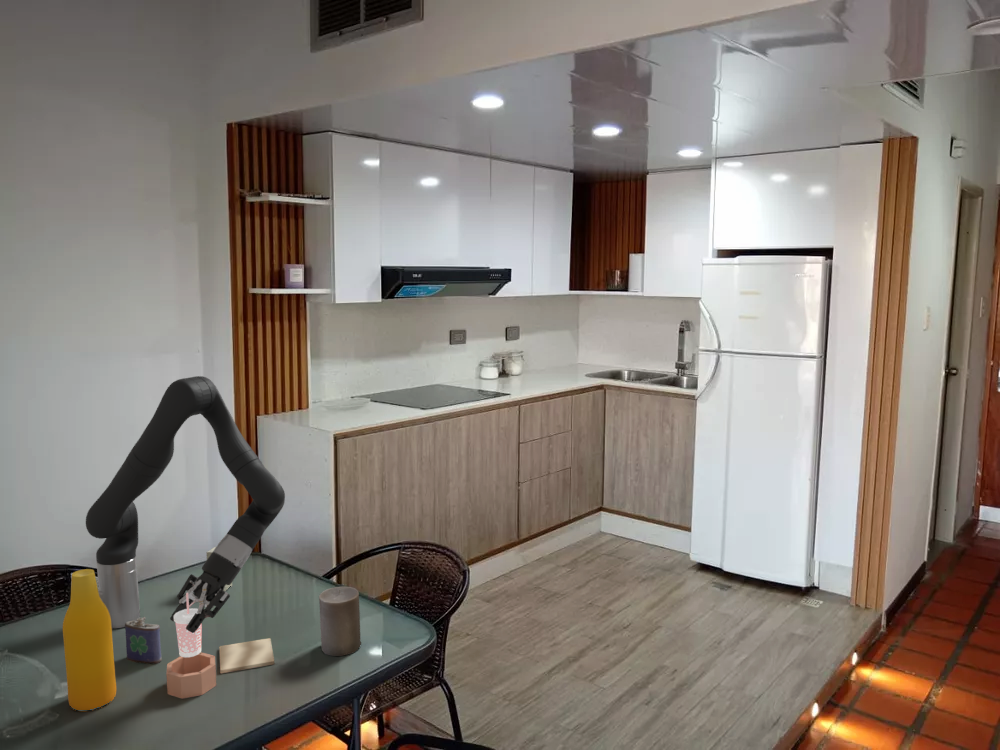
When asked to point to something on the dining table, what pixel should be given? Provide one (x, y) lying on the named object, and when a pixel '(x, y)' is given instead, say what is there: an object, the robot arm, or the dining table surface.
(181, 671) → the ceramic ring
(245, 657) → the wooden coaster
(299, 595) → the dining table surface
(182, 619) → the beverage cup
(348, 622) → the pillar candle
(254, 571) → the dining table surface
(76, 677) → the beer bottle
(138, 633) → the flask
